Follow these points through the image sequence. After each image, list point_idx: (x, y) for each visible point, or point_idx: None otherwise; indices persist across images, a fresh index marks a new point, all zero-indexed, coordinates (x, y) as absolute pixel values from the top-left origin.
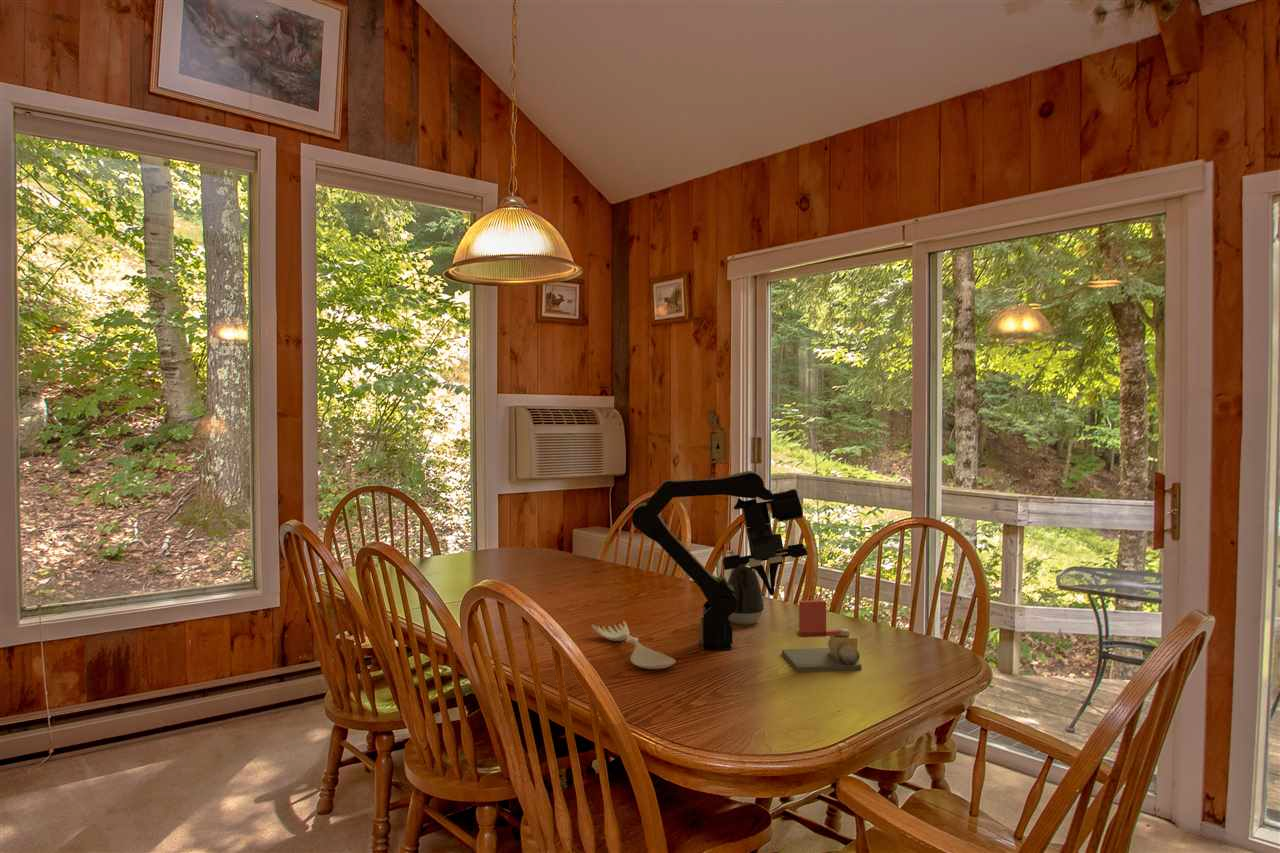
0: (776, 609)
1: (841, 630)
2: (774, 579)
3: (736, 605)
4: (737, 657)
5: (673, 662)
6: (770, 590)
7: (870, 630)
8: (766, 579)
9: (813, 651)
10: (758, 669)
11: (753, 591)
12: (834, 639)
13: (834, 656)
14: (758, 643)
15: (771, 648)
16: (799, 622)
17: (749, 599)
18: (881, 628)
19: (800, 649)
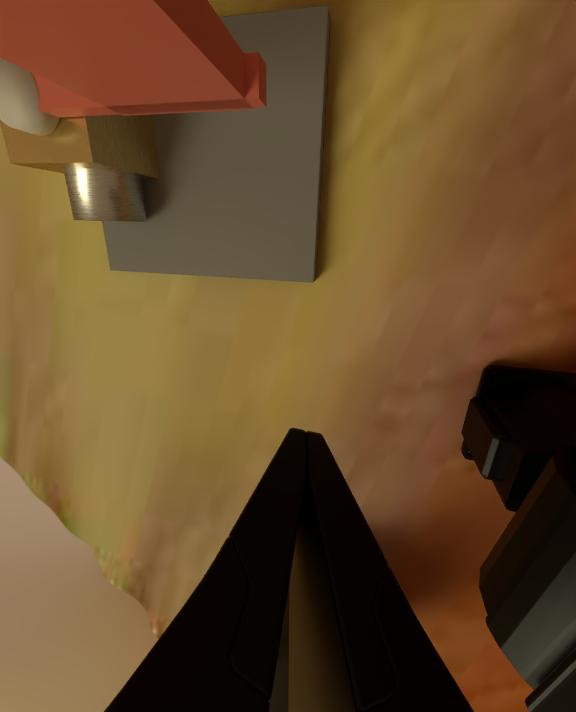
0: None
1: (19, 82)
2: (237, 541)
3: (562, 475)
4: (508, 270)
5: None
6: (314, 458)
7: (27, 430)
8: (347, 581)
9: (206, 239)
10: (496, 80)
11: (288, 672)
12: None
13: (145, 115)
14: (354, 407)
15: (329, 349)
16: (221, 68)
17: None
18: (3, 437)
19: (245, 271)
